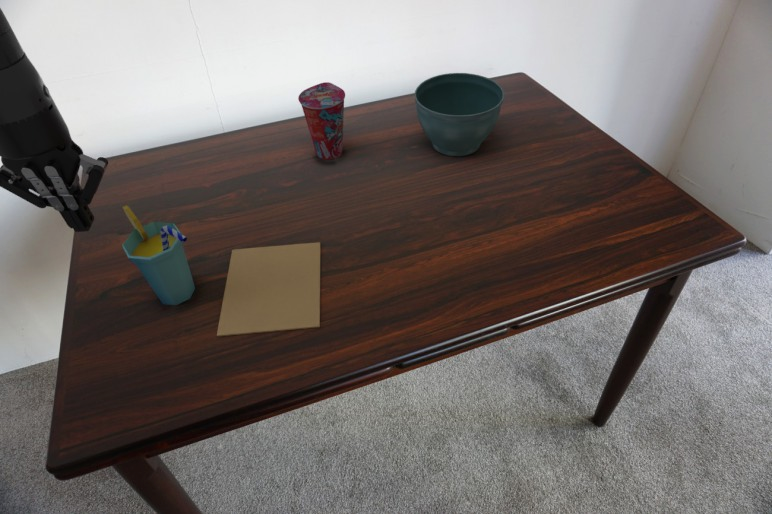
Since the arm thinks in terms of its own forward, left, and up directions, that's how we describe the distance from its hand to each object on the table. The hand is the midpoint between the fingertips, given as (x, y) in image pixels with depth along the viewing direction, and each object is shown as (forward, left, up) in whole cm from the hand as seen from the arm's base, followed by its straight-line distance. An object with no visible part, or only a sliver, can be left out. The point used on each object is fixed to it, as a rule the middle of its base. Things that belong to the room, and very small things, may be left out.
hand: (85, 227), depth 67 cm
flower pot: (+55, +34, -14) cm, 66 cm away
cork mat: (+21, 0, -14) cm, 26 cm away
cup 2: (+30, +35, -14) cm, 48 cm away
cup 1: (+8, 0, -14) cm, 16 cm away
